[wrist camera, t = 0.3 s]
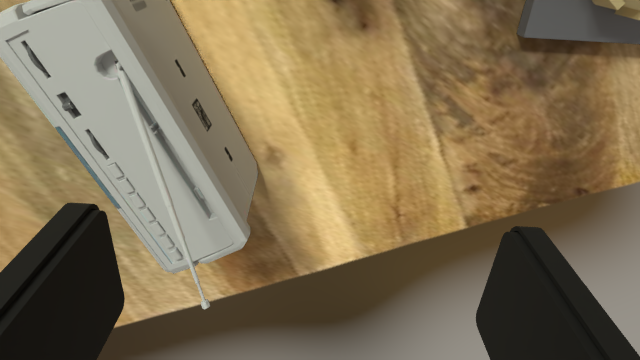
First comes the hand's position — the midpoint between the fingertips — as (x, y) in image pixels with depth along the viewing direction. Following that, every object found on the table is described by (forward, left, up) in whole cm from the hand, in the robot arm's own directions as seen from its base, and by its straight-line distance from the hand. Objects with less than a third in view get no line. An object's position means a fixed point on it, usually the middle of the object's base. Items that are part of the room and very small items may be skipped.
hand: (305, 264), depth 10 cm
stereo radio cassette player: (+6, -12, -31) cm, 34 cm away
